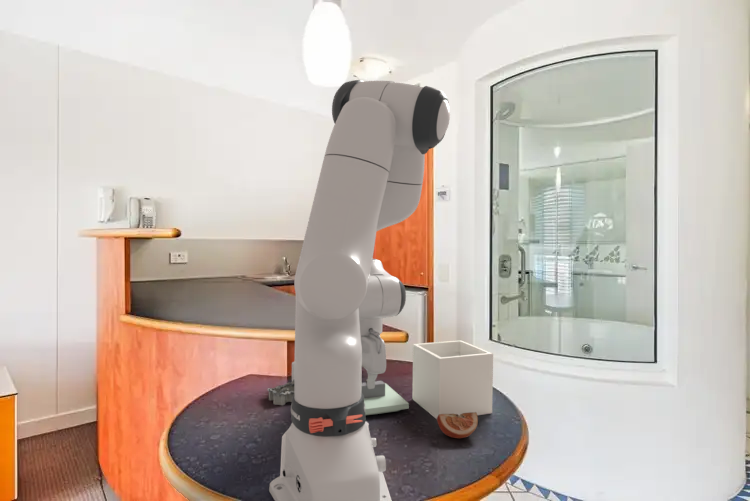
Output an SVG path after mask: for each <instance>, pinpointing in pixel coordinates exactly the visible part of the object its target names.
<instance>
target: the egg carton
mask: <svg viewBox="0 0 750 501" xmlns="http://www.w3.org/2000/svg"><path fill="white" fill-rule="evenodd" d="M266 390H267V391H268V401H272V402H273V403H272V404H273V405H276V406H277V405H279V406H285V405H286V403H292V397H293V396H294V380H293V382H292V381H291V382H287V383H285V384H283V385H282V384H281V385H277V386H275V387H270V388H269V387H268V388H266Z"/></svg>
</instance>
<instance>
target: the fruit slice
mask: <svg viewBox="0 0 750 501" xmlns="http://www.w3.org/2000/svg"><path fill="white" fill-rule="evenodd" d="M478 416H479V415H477V413H476V412H470V413H463V414H460V415H458V414H454V413H453V414H439V415H438V417H437V419H436V422H437V425H438V427H439V429H440V431H441V432H442V433H443V434H444V435H446V436H448V437H450V438H453V439H463V438H467V437H470V435H472V434H473V433H474V432H475V431H476V429H477V427H478V424H479V423H478V422H479V421H478V420H479V417H478Z"/></svg>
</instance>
